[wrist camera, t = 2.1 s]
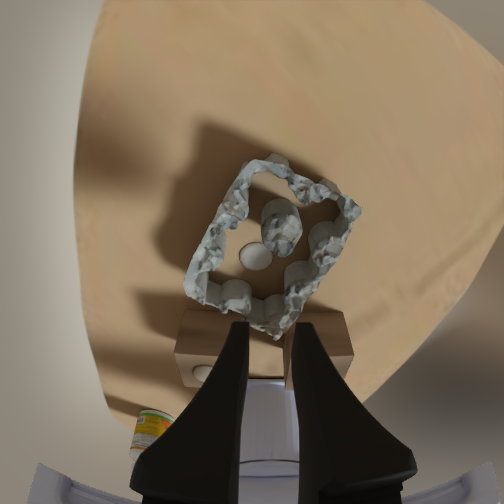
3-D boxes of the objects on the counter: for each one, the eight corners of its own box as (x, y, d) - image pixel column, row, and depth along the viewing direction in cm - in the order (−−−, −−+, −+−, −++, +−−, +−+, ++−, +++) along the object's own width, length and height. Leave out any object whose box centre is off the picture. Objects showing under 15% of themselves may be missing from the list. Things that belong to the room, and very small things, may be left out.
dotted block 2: (331, 346, 25) (340, 390, 21) (282, 347, 25) (284, 392, 21) (342, 311, 22) (354, 357, 18) (287, 312, 22) (291, 360, 19)
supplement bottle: (179, 427, 36) (169, 484, 28) (144, 421, 36) (132, 476, 28) (173, 412, 33) (161, 477, 25) (135, 405, 33) (119, 467, 25)
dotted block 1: (243, 347, 25) (240, 392, 21) (192, 344, 25) (183, 388, 21) (242, 311, 23) (238, 359, 19) (185, 308, 23) (172, 355, 19)
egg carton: (274, 307, 23) (275, 348, 19) (183, 268, 21) (169, 307, 17) (360, 196, 17) (382, 227, 14) (255, 133, 16) (252, 150, 12)
